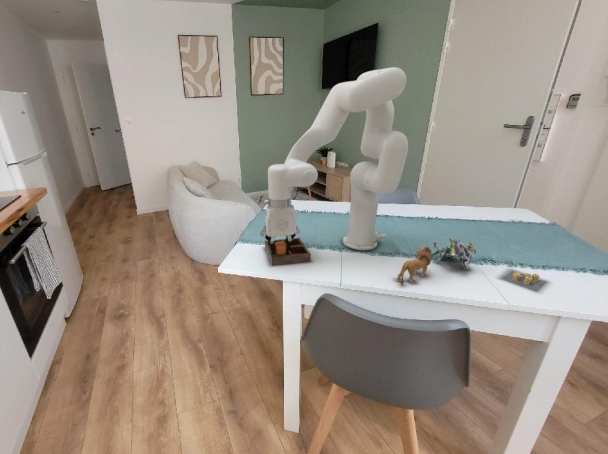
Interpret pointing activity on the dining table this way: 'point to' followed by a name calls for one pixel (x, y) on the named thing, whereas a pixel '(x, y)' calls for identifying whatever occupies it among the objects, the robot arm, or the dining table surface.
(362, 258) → the dining table surface
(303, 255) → the grid
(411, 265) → the lion figurine
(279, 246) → the orange short cylinder
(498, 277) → the dining table surface
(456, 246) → the passion flower
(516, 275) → the dice set
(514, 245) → the dining table surface
